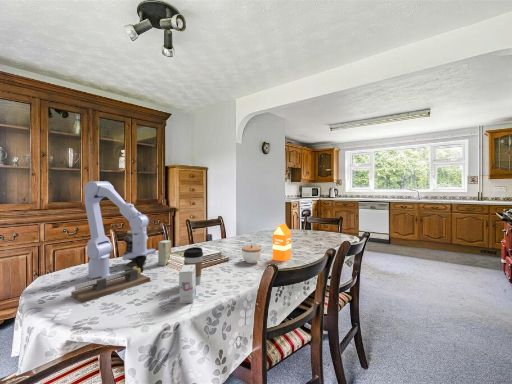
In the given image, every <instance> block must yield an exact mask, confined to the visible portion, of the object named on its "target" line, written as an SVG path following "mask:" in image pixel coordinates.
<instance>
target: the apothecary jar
mask: <svg viewBox="0 0 512 384" xmlns="http://www.w3.org/2000/svg"><path fill="white" fill-rule="evenodd" d="M148 239H149V236H148V235H147V241H148ZM123 241H124V242H125V244H126V249H125V251H124V252H123V255H126V254H129V253H132V252H133V233H132V229H131V230H128V231H127V233H126V235H124V237H123ZM145 256H146V258H147V256H148V255H145ZM126 261H129V262H126V264H125V266H126V267H128V268H133V267H134V266H137V264H136V262H135V260H134V259H133V258H132V259H127V260H126ZM146 264H147V262H146V261H145V262H144V264H143V266H146Z"/></svg>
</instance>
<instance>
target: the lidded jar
mask: <svg viewBox="0 0 512 384" xmlns="http://www.w3.org/2000/svg"><path fill="white" fill-rule="evenodd" d="M261 255H262V247H260V246H258V245H253V244H250V245H245V246H242V248H241V256H242V258H243V260H244V261H245V262H246V263H247V264H256V263H257V262H258V261H259V259H261Z"/></svg>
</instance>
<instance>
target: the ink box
mask: <svg viewBox="0 0 512 384" xmlns="http://www.w3.org/2000/svg"><path fill="white" fill-rule="evenodd" d="M178 281H179V304H190V303H191V304H192V303H194V300H195V298H196V295H197V289H196V288H197V287H196V286H197V285H196V273H195V265H185V264H183V265H182V267H181V269H180V270H179V272H178Z"/></svg>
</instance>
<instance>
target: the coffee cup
mask: <svg viewBox="0 0 512 384" xmlns="http://www.w3.org/2000/svg"><path fill="white" fill-rule="evenodd" d="M183 252H184V253H183V254H182V255H183V258H184V260H183V263H184V264H183V265H195V273H196V286H199V285H201V280H202V279H201V278H202V267H203V256H204V253H203V248H201V247H198V246H195V247H188V248H186V249H184V251H183Z"/></svg>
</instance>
